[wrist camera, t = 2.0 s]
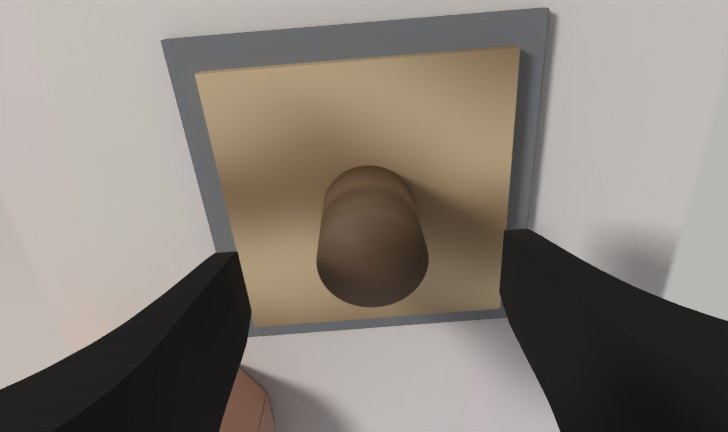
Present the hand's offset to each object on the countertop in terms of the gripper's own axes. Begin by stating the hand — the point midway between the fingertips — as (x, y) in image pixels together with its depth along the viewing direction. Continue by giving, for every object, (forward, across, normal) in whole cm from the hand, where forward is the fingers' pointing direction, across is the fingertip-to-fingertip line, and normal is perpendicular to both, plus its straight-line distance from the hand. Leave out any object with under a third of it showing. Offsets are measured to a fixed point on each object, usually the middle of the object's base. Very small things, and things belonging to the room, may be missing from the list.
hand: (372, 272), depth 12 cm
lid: (+5, 0, 0) cm, 5 cm away
